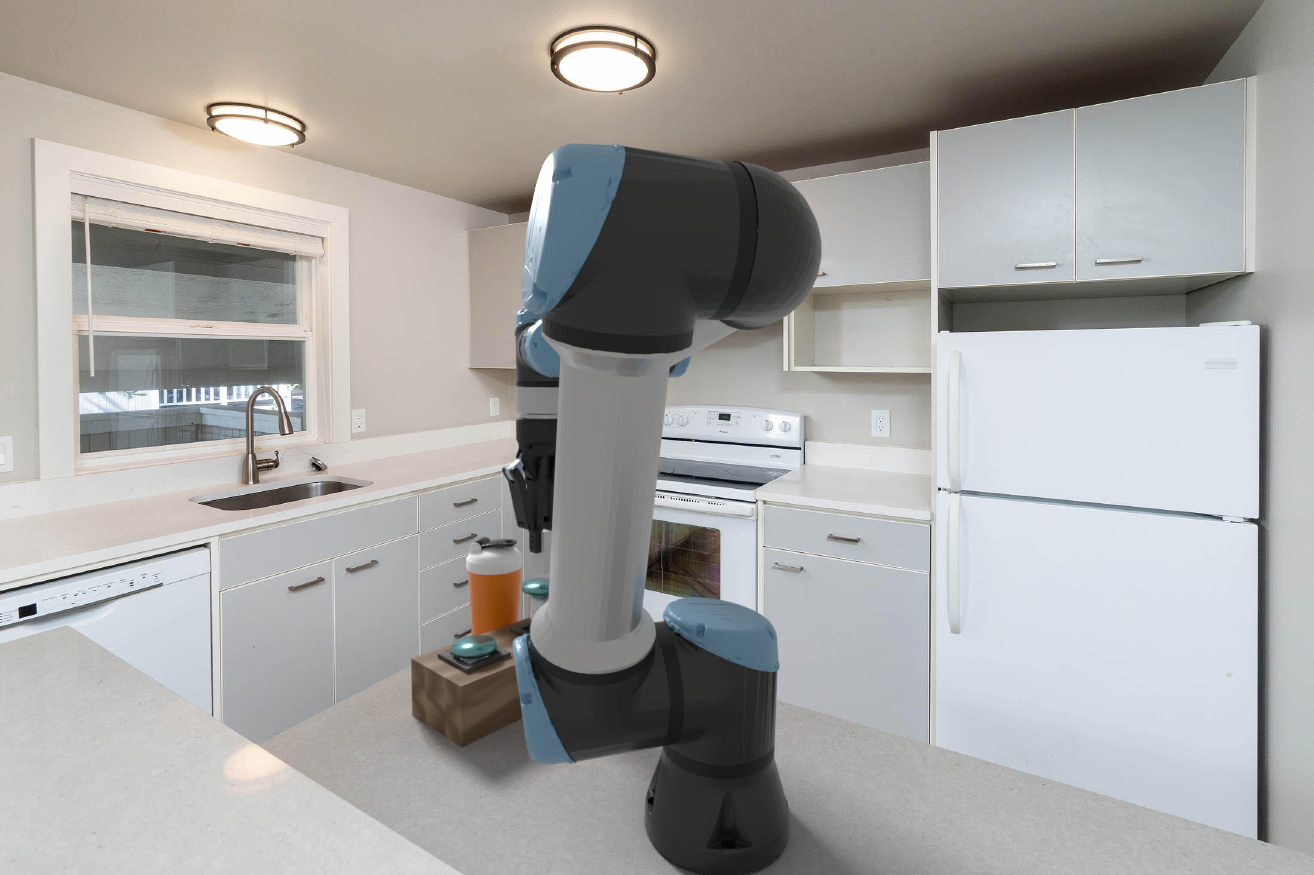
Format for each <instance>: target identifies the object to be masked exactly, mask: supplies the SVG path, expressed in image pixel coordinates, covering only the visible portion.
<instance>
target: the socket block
mask: <svg viewBox="0 0 1314 875" xmlns="http://www.w3.org/2000/svg"><path fill="white" fill-rule="evenodd" d="M524 634H530V632H529V617H527V618H524V619H522V620H519V621H518V622H515V623H512V624H509V625H506V626H503V627H501V628H498V629H495V630H492V631H489V632H486V633H483V634H480V635H486V636H491V637H493V638H495V639H496V641H497V649H496V651H495V652H493V653H492V654H490V655H489V656H488V657H486V658H483V659H481V660H478V661H475V662H473V663H470V664H469V663H467V662H465V661H463V660H461V659H459V658H458V657H455V656H454V655H453V654H452V652H451V645H452V643H451V644H448V645H445V646H443V647H440V648H437V649H435V650H431V651H428V652H425V653H423V654H419V655H417V656H414V657H411V658H410V663H411V664H410V672H411V710H412V716H415V717H416V718H417V719H419V720H421V722H423V723H424V724H426V725H428V726H429V727H431V728H432V729H433V730H435V731H437V732H438V733H440V734H441V735H442V736H444V737H445V738H447V739H448V740H450V741H451V742H453V743H454V744H456V745H457V746H459V747H461V748H463V747H465V746H468V745H469V744H470V745H471V744H472V743H473V742H476V741H479V740H480V739H482V738H484V737H486V736H487V735H488V736H489V735H490V734H493V733H495V732H496V731H499V730H500V729H502V728H504V727H507V726H509V725H510V724H513V723H515V722H516V721H519V720H521V719H523V718H522V710H521V702H520V696H519V689H518V682H517V675H516V668H515V661H514V653H513V645H512V644H513V641H514V639H516V638H517V637H520V636H523V635H524Z"/></svg>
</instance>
